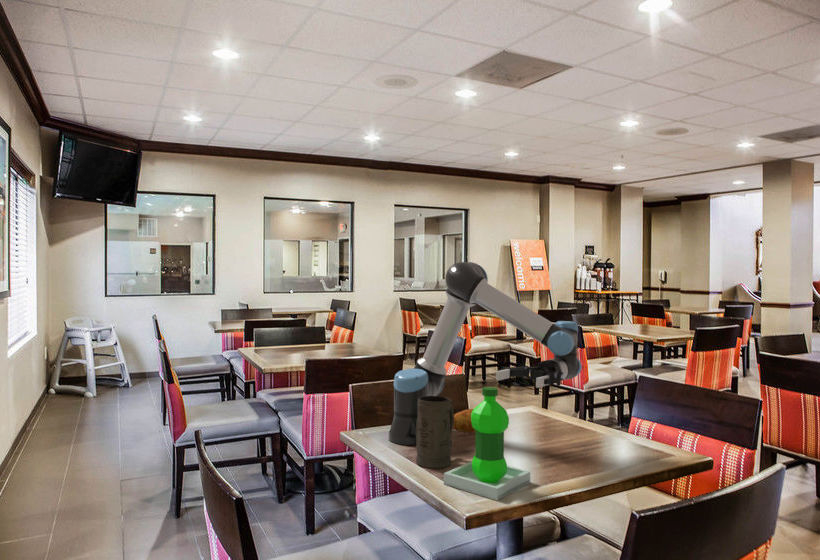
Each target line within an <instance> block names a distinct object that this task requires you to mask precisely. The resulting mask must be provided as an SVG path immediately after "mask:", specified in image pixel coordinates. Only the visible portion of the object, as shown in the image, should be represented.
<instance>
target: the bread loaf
mask: <svg viewBox="0 0 820 560" xmlns="http://www.w3.org/2000/svg"><path fill="white" fill-rule="evenodd" d="M473 409H474V408H468V409H464V410H462V411H458V412H456V413H454V424H453V429H452V430H455V429H456V430H455V431H459V432H462V431H463V433H466V432H468V433H467V434H473V432H474V433H476V430H475V429H474V428H473V427H472V422H471V413H472V411H473Z"/></svg>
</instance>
